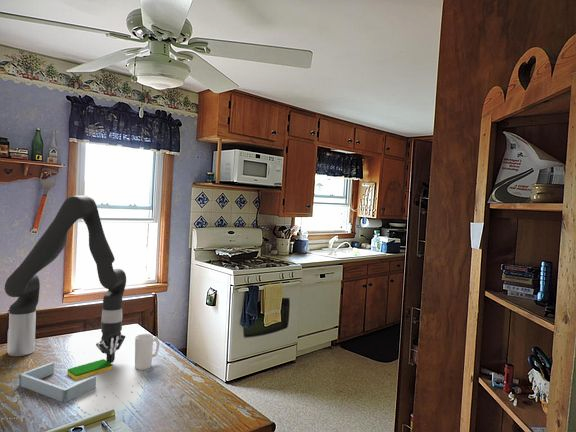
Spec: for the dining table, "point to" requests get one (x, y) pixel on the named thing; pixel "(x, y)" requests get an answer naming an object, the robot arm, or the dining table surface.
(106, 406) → the dining table surface
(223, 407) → the dining table surface
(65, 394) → the frame
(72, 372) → the dish sponge
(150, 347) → the mug
